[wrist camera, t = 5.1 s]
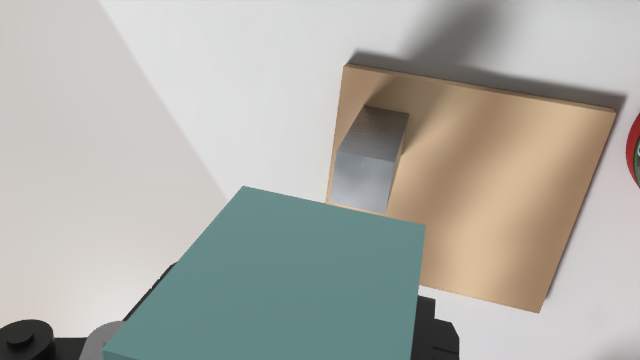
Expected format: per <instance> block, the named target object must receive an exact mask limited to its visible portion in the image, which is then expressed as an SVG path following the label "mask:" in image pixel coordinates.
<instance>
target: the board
mask: <svg viewBox="0 0 640 360" xmlns="http://www.w3.org/2000/svg"><path fill="white" fill-rule="evenodd" d="M363 105H366V106H371V107H377V108H382V109H388V110H393V111H398V112H404V113H409V119H408V124H407V129H406V135H405V140H404V145H403V150H402V155H401V159H400V162H399V166H398V170H397V173H396V177H395V180H394V184H393V187H392V191H391V195H390V198H389V202H388V205H387V209H386V213H385V214H381V213H377V212H372V211H367V210H363V209H358V208H354V207H349V206H345V205H340V204H335V203H331V202H330V196H331V188H332V181H333V173H334V166H335V159H336V151H337V149H338V148H339V146H340V144H341V143H342V141H343V139H344V137H345V136H346V134H347V132H348V131H349V129H350V127H351V125H352V124H353V122H354V120H355V119H356V117H357V115H358V114H359V112H360V110H361V108H362V107H363ZM616 114H617V113H616V112H615V111H614V110H613V109H612V108H607V107H601V106H595V105H589V104H583V103H577V102H571V101H566V100H560V99H554V98H548V97H542V96H536V95H530V94H525V93H519V92H513V91H507V90H501V89H495V88H489V87H484V86H478V85H472V84H466V83H460V82H454V81H448V80H443V79H437V78H431V77H425V76H419V75H413V74H408V73H402V72H396V71H390V70H384V69H378V68H372V67H367V66H361V65H355V64H349V63H346V64H345V65H344V67H343V75H342V82H341V90H340V97H339V105H338V112H337V120H336V128H335V135H334V143H333V150H332V158H331V166H330V173H329V181H328V188H327V196H326V204H329V205H334V206H339V207H343V208H348V209H352V210H357V211H362V212H366V213H371V214H376V215H380V216H385V217H390V218H394V219H399V220H404V221H408V222H413V223H418V224H422V225H426V228H425V237H424V245H423V254H422V262H421V271H420V280H419V285H422V286H426V287H430V288H434V289H438V290H443V291H447V292H451V293H455V294H459V295H463V296H468V297H472V298H476V299H480V300H484V301H488V302H493V303H497V304H501V305H505V306H509V307H513V308H518V309H522V310H526V311H530V312H534V313H538V314H539V312H540V310H541V307H542V305H543V302H544V300H545V297H546V294H547V292H548V289H549V287H550V284H551V282H552V279H553V276H554V274H555V271H556V269H557V266H558V263H559V261H560V258H561V256H562V253H563V251H564V248H565V245H566V243H567V240H568V238H569V235H570V233H571V230H572V227H573V225H574V222H575V220H576V217H577V215H578V212H579V209H580V207H581V204H582V202H583V199H584V197H585V194H586V191H587V189H588V186H589V184H590V181H591V179H592V176H593V173H594V171H595V168H596V166H597V163H598V160H599V158H600V155H601V153H602V150H603V148H604V145H605V142H606V140H607V137H608V135H609V132H610V130H611V127H612V124H613V122H614V119H615V117H616Z"/></svg>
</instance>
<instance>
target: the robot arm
mask: <svg viewBox="0 0 640 360" xmlns="http://www.w3.org/2000/svg"><path fill="white" fill-rule="evenodd" d="M176 263H177V262H176ZM176 263H174V264H173V265H170V267H169V268H168V269H167V270H166V271H165V272H164V273H163V274H162V276H161V277H160V279H158V280H157V282H155V284H154V285H153V286H152V289H149V291H148V292H147V293H146V294H145V295H144V296H143V297H142V298H141V300H140V301H139V302H138V303H137V304H136V305H135V306H134V308H133V309H132V310H131V311H130V312H129V313H128V315H127V316H126V317H125V318H124V319H123V320H122V321H115V322H110V323H107V324H104V325H102V326H100V327H98V328H97V329H96V330H94V331H93V332H92V333H91V334H90V335H89V336H88V337H86V338H54V335H53V330H52V328H51V326H49V324H47V323H46V322H43V321H40V320H34V319H33V320H21V321H17V322H14V323H11V324H9V325H6V326H4V327H3V328H1V329H0V360H103V353H102V349H103V348H104V347H105V345H106V344H107V343H108V342H109V341H110V340H111V339H112V337H113V336H114V335H115V334H116V333H117V332H118V330H119V329H120V328H121V327H122V326H123V325H124V323H125V322H126V321H127V320H128V319H129V318H130V316H131V315H132V314H133V313H134V312H135V311H136V310H137V308H138V307H139V306H140V305H141V304H142V303H143V301H144V300H145V299H146V298H147V297H148V296H149V294H150V293H151V292H152V291H153V290H154V289H155V287H156V286H157V285H158V284H159V283H160V282H161V281H162V279H163V278H164V277H165V276H166V275H167V274H168V272H169V271H170V270H171V269H172V268H173V267H174V265H175V264H176ZM434 316H435V299H432V298H427V297H423V296H419V295H418V297H417V306H416V314H415V323H414V331H413V340H412V349H411V357H410V360H459V336H458V334H457V333H456V331H455V329H454V327H453V325H452V323H451V322H447V321H442V320H438V319H434Z"/></svg>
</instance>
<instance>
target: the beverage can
mask: <svg viewBox="0 0 640 360" xmlns="http://www.w3.org/2000/svg"><path fill="white" fill-rule="evenodd" d="M626 160H627V165H628V168H629V171H630V173H631V175H632V177H633V179H634V180H635V182H636V184H637V185H638V187H639V188H640V113H639V115H638V116H637V118H636V120H635V121H634V123H633V125H632V127H631V130H630V132H629V135H628V139H627V144H626Z"/></svg>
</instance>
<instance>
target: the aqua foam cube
mask: <svg viewBox="0 0 640 360" xmlns="http://www.w3.org/2000/svg"><path fill="white" fill-rule="evenodd" d="M425 228H426V225H422V224H418V223H413V222H408V221H404V220H399V219H394V218H390V217H385V216H380V215H376V214H371V213H366V212H362V211H357V210H352V209H348V208H343V207H339V206H334V205H329V204H325V203H320V202H315V201H311V200H306V199H301V198H297V197H292V196H287V195H283V194H278V193H273V192H269V191H264V190H260V189H255V188H250V187H246V186H243V187H242V188H241V189H240V190H239V191H238V192H237V194H236V195H235V196H234V197H233V198H232V199H231V200H230V202H229V203H228V204H227V205H226V206H225V207H224V209H223V210H222V211H221V212H220V213H219V214H218V216H217V217H216V218H215V219H214V220H213V222H212V223H211V224H210V225H209V226H208V227H207V228H206V230H205V231H204V232H203V233H202V234H201V235H200V236H199V238H198V239H197V240H196V241H195V242H194V243H193V245H192V246H191V247H190V248H189V249H188V250H187V252H186V253H185V254H184V255H183V256H182V257H181V258H180V260H179V261H178V262H177V263H176V264H175V265H174V267H173V268H172V269H171V270H170V271H169V272H168V274H167V275H166V276H165V277H164V278H163V279H162V281H161V282H160V283H159V284H158V285H157V286H156V287H155V289H154V290H153V291H152V292H151V293H150V294H149V296H148V297H147V298H146V299H145V300H144V301H143V303H142V304H141V305H140V306H139V307H138V308H137V310H136V311H135V312H134V313H133V314H132V315H131V316H130V318H129V319H128V320H127V321H126V322H125V323H124V325H123V326H122V327H121V328H120V329H119V330H118V332H117V333H116V334H115V335H114V336H113V337H112V339H111V340H110V341H109V342H108V343H107V344H106V345H105V347H104V348H103V349H102V353H103V360H410V357H411V349H412V340H413V331H414V323H415V314H416V306H417V297H418V288H419V280H420V271H421V262H422V254H423V245H424V237H425Z"/></svg>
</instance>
